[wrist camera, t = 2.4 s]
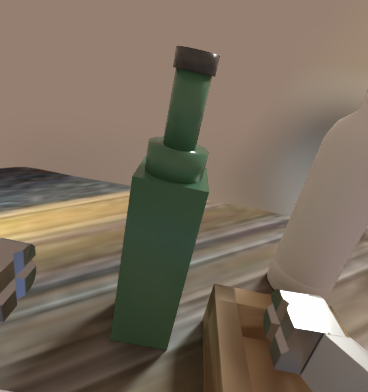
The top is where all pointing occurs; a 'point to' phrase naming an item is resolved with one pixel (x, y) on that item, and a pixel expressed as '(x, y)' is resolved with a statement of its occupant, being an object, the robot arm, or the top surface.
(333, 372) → the robot arm
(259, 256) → the top surface
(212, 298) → the oak rest
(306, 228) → the bottle
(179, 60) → the green bottle
